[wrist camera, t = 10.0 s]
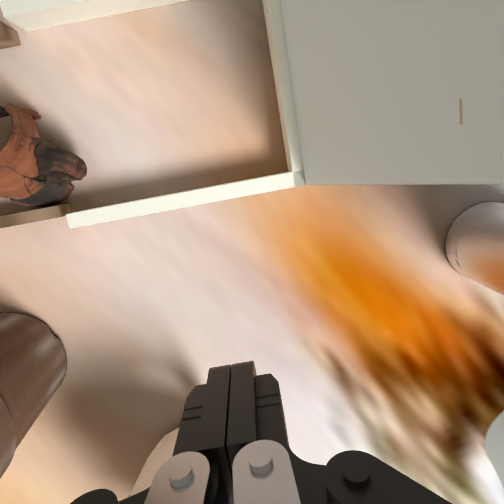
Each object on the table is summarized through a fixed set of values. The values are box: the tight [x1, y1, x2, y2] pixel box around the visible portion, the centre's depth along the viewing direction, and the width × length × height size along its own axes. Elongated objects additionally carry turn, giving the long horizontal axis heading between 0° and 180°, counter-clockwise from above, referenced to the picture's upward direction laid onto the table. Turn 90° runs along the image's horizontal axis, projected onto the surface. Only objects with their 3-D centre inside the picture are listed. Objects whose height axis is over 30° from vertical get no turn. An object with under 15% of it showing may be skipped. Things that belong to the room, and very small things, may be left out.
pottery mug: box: [0, 104, 87, 208], centre depth 35 cm, size 12×10×8 cm
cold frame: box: [0, 0, 504, 229], centre depth 22 cm, size 32×21×28 cm, turn 100°
